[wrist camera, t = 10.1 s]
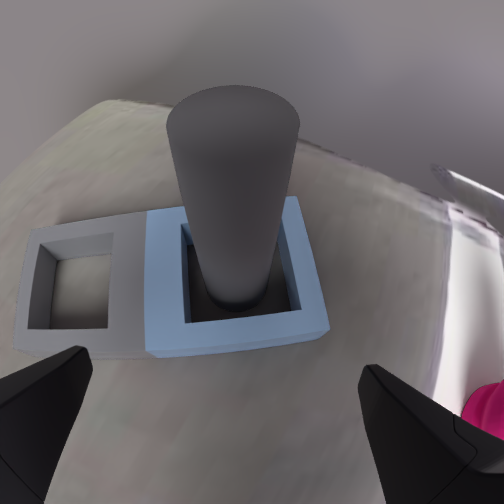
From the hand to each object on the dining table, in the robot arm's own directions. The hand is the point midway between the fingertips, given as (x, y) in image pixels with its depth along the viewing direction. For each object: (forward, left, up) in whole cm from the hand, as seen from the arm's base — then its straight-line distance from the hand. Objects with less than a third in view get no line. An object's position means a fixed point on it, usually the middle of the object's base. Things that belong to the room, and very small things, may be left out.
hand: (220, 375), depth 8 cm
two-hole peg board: (+8, -2, -11) cm, 14 cm away
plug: (+4, -6, -11) cm, 13 cm away
